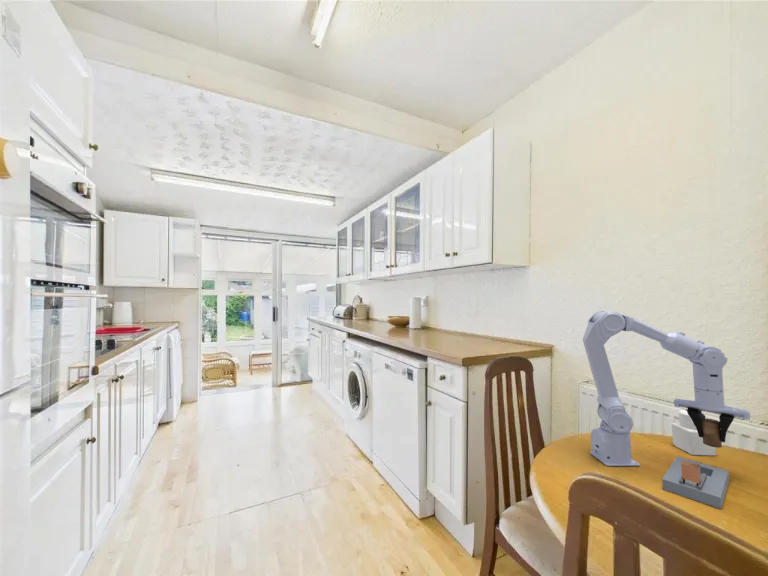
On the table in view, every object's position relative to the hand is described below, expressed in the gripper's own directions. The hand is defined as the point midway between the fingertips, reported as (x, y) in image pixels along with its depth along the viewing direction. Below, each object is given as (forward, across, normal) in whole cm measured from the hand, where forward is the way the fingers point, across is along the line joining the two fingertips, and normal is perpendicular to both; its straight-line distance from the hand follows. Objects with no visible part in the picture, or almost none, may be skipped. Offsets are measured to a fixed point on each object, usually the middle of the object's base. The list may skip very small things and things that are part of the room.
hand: (711, 438), depth 87 cm
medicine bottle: (+9, +6, -13) cm, 16 cm away
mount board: (+9, +2, +12) cm, 15 cm away
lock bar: (+6, +2, +17) cm, 18 cm away
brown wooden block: (+2, 0, 0) cm, 2 cm away
